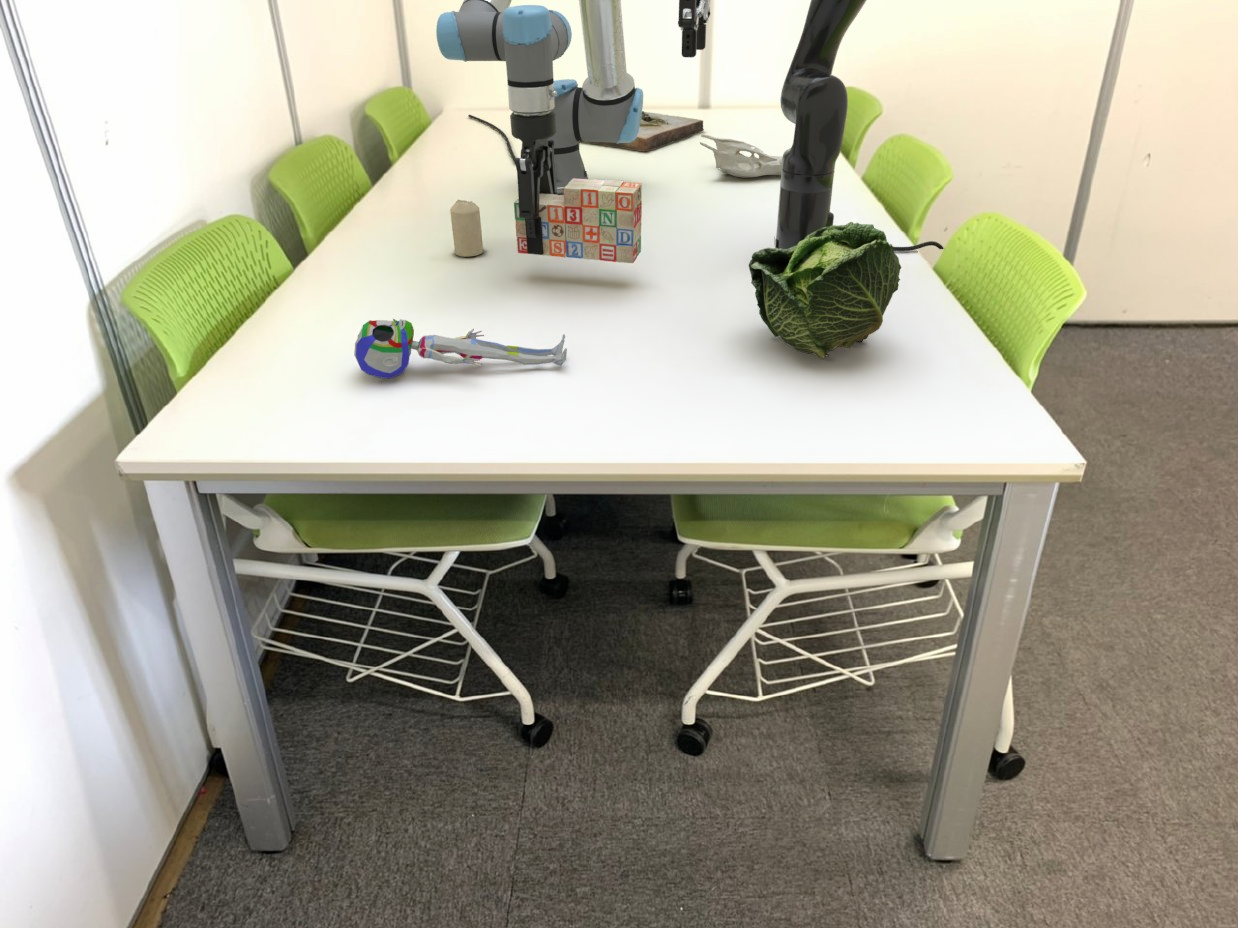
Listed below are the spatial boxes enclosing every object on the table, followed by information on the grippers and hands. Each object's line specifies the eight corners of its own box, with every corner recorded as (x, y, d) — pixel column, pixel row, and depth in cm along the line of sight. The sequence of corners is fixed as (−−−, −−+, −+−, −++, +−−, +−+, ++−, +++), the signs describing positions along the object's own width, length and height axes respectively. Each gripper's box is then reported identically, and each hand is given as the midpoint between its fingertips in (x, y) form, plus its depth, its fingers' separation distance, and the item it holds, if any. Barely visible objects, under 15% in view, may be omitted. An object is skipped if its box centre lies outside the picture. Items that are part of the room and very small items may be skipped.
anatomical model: (702, 130, 224) (803, 129, 220) (702, 168, 229) (801, 167, 225) (697, 145, 212) (805, 144, 208) (697, 184, 216) (802, 184, 213)
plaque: (647, 125, 237) (559, 112, 252) (647, 153, 241) (560, 139, 256) (706, 107, 258) (622, 97, 273) (705, 133, 262) (622, 121, 277)
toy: (569, 347, 126) (349, 329, 122) (563, 400, 131) (350, 385, 126) (565, 318, 135) (359, 301, 130) (559, 369, 139) (360, 354, 134)
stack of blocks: (516, 254, 159) (511, 184, 152) (528, 242, 164) (523, 174, 157) (633, 263, 154) (633, 192, 148) (642, 251, 159) (642, 181, 153)
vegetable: (778, 371, 145) (721, 264, 137) (874, 304, 146) (823, 195, 138) (839, 398, 127) (777, 277, 119) (948, 321, 128) (894, 197, 120)
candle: (488, 249, 176) (483, 198, 171) (475, 258, 172) (470, 206, 167) (463, 246, 178) (457, 196, 173) (450, 255, 174) (443, 204, 168)
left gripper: (535, 125, 139) (544, 267, 152) (571, 100, 155) (577, 230, 167) (490, 123, 141) (503, 264, 153) (530, 98, 156) (539, 228, 169)
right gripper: (714, -63, 128) (709, 60, 136) (728, -67, 139) (723, 47, 148) (662, -63, 129) (661, 59, 138) (681, -66, 141) (679, 46, 150)
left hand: (541, 246), depth 160 cm, fingers closed on stack of blocks, 6 cm apart
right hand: (693, 53), depth 143 cm, fingers open, 8 cm apart
